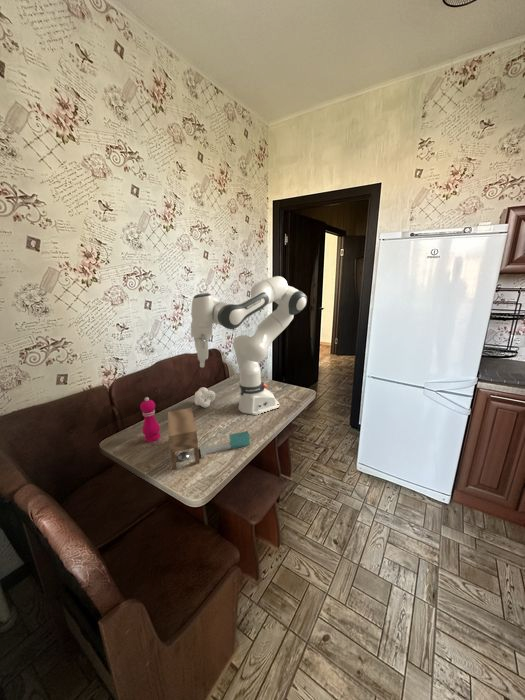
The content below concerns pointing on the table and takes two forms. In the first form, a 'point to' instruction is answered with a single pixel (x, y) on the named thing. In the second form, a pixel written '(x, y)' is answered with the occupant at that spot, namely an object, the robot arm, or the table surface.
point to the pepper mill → (150, 421)
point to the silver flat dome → (183, 456)
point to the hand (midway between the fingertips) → (200, 363)
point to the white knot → (204, 397)
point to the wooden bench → (182, 433)
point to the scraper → (235, 442)
